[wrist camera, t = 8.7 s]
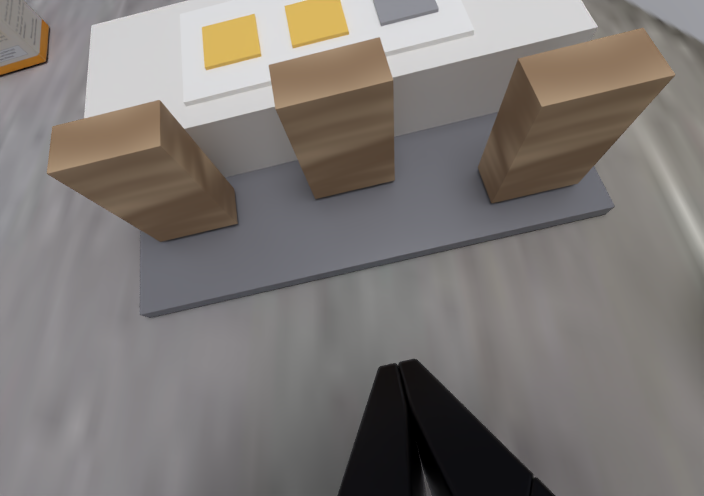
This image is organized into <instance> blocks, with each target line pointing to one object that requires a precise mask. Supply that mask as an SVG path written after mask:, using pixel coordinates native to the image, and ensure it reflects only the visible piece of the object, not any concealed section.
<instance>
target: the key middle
mask: <svg viewBox="0 0 704 496" xmlns="http://www.w3.org/2000/svg"><path fill="white" fill-rule="evenodd" d="M269 71H270V78H271V84H272V91H273V97H274V103H275V109H276V112H277V114H278V116H279V118H280V121H281V123H282V125H283V127H284V130H285V132H286V134H287V137H288V139H289V141H290V143H291V146H292V148H293V150H294V152H295V155H296V157H297V159H298V161H299V164H300V166H301V168H302V170H303V173H304V175H305V177H306V179H307V182H308V184H309V186H310V188H311V191H312V193H313V195H314V197H315V199H318V198H322V197H326V196H331V195H335V194H339V193H343V192H348V191H352V190H356V189H360V188H365V187H369V186H373V185H377V184H382V183H386V182H390V181H394V180H395V164H394V89H393V78H392V74H391V71H390V68H389V65H388V62H387V58H386V55H385V52H384V49H383V46H382V43H381V39H380V37H378V38H374V39H370V40H366V41H362V42H358V43H354V44H350V45H346V46H342V47H338V48H334V49H330V50H326V51H322V52H318V53H314V54H310V55H306V56H302V57H298V58H294V59H290V60H286V61H282V62H278V63H274V64H270V65H269Z"/></svg>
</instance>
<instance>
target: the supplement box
mask: <svg viewBox="0 0 704 496" xmlns="http://www.w3.org/2000/svg"><path fill="white" fill-rule="evenodd" d="M48 34H49V26H48V25H47V24H46V23H45V22H44V21H43V20H42V19H41V18H40V17H39V16H38V15H37V14H36V13H35V12H34V11H33V10H32V9H31V8H30V7H29V5H28V4H27V3H26V2H25V1H24V0H0V75H2V74H6V73H9V72H12V71H15V70H19V69H23V68H26V67H29V66H33V65H36V64H39V63H43V62H45V61H46V57H47V48H48Z"/></svg>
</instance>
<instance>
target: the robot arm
mask: <svg viewBox="0 0 704 496" xmlns="http://www.w3.org/2000/svg"><path fill="white" fill-rule="evenodd" d="M398 367H399V368H398ZM399 371H400V372H399ZM418 451H419V452H418ZM419 455H420V456H419ZM420 459H421V461H420ZM421 463H422V466H421ZM422 467H423V470H424V473H425V476H426V479H427V482H428V485H429V488H430V490H431V493H432V496H555V495H554V494H553V493H552V492H551V491H550V490H549V489H548V488H547V487H546V486H545V485H544V484H543V483H542V482H541V481H540V480H539V479H538V478H536V477H535V478H534V476H533V473H532V472H531V471H530V470H529V469H528V468H527V467H526V466H525V465H524V464H523V463H522V462H521V461H520V460H519V459H517V458H516V457H515V456H514V455H513V454H512V453H511V452H510V451H509V450H508V449H507V448H506V447H505V446H504V445H503V444H502V443H501V442H500V441H499V440H498V439H497V438H496V437H495V436H494V435H493V434H492V433H491V432H490V431H489V430H488V429H487V428H486V427H485V426H484V425H483V424H482V423H481V422H480V421H479V420H478V419H477V418H476V417H475V416H474V415H473V414H472V413H471V412H470V411H469V410H468V409H467V408H466V407H465V406H464V405H463V404H462V403H461V402H460V401H459V400H458V399H457V398H456V397H455V396H454V395H453V394H452V393H451V392H450V391H448V390H447V389H446V388H445V387H444V386H443V385H442V384H441V383H440V382H439V381H438V380H437V379H436V378H435V377H434V376H433V375H432V374H431V373H430V372H429V371H428V370H427V369H426V368H425V367H424V366H423V365H422V364H421V363H420V362H419V361H418V360H417V359H411V360H406V361H402V362H399V364H398V365H397V364H396V363H393V364H388V365H384V366H380V367H379V368H378V371H377V374H376V377H375V380H374V383H373V386H372V390H371V393H370V396H369V399H368V402H367V405H366V408H365V411H364V414H363V418H362V421H361V424H360V427H359V430H358V433H357V436H356V439H355V442H354V446H353V449H352V452H351V455H350V458H349V461H348V464H347V467H346V470H345V474H344V477H343V480H342V483H341V486H340V489H339V492H338V495H337V496H426V491H425V483H424V477H423V470H422Z"/></svg>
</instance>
